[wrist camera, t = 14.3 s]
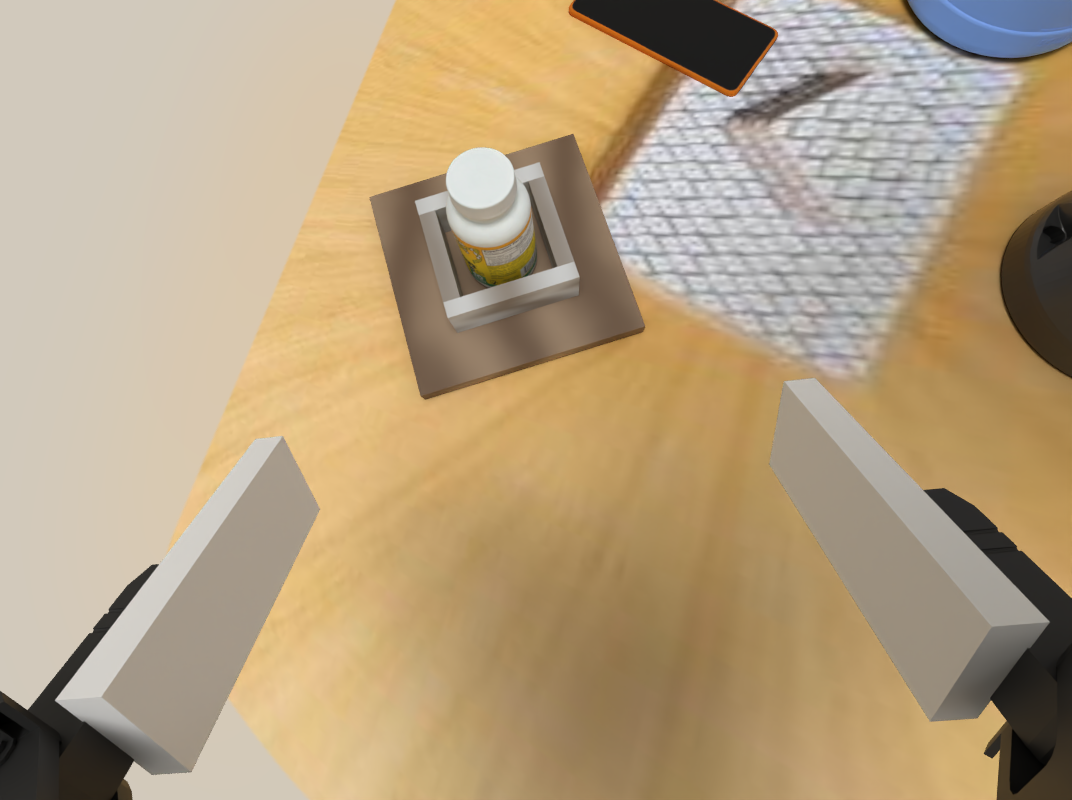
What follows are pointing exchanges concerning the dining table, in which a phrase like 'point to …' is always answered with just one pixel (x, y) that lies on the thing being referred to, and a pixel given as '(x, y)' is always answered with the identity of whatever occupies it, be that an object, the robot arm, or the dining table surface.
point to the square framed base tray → (514, 307)
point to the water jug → (999, 25)
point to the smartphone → (686, 36)
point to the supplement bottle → (490, 217)
